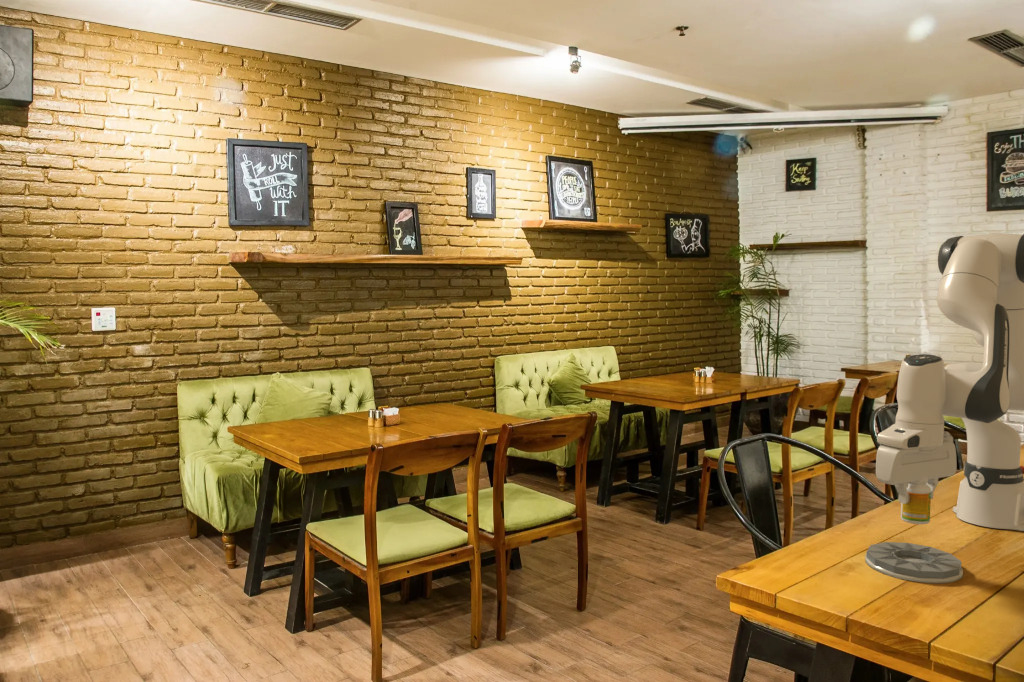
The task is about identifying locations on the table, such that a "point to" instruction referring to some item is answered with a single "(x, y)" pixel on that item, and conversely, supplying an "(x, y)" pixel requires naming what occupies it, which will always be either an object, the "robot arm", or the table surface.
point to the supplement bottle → (917, 503)
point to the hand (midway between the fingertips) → (915, 500)
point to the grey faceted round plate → (914, 562)
